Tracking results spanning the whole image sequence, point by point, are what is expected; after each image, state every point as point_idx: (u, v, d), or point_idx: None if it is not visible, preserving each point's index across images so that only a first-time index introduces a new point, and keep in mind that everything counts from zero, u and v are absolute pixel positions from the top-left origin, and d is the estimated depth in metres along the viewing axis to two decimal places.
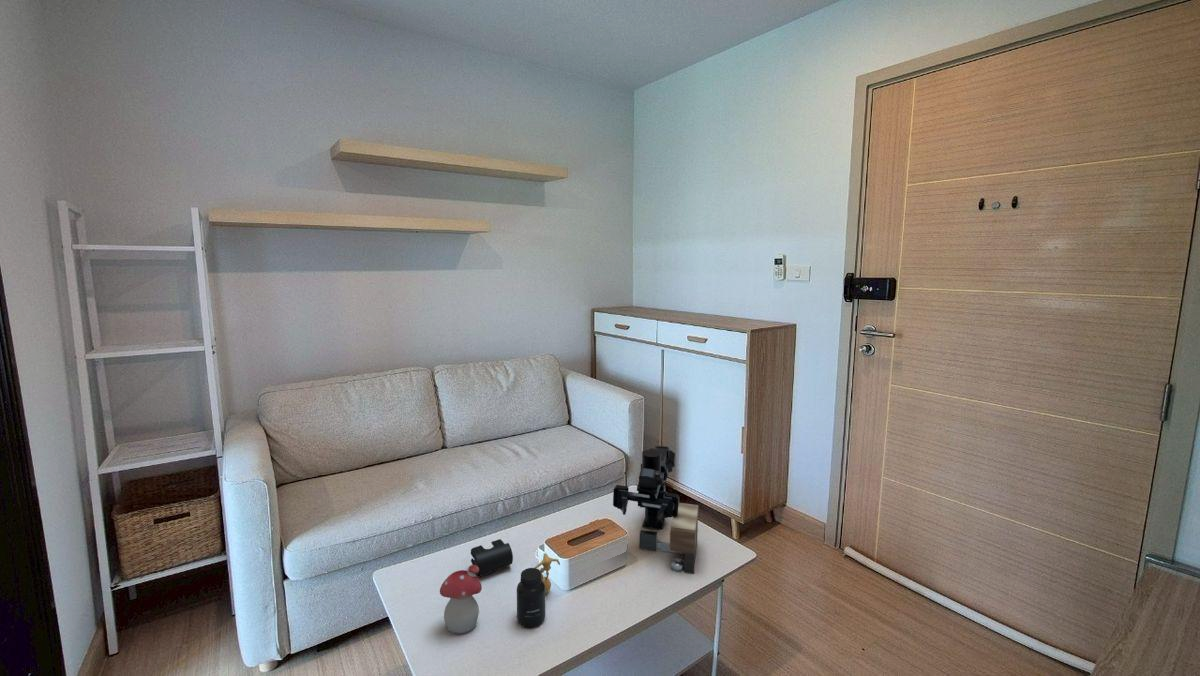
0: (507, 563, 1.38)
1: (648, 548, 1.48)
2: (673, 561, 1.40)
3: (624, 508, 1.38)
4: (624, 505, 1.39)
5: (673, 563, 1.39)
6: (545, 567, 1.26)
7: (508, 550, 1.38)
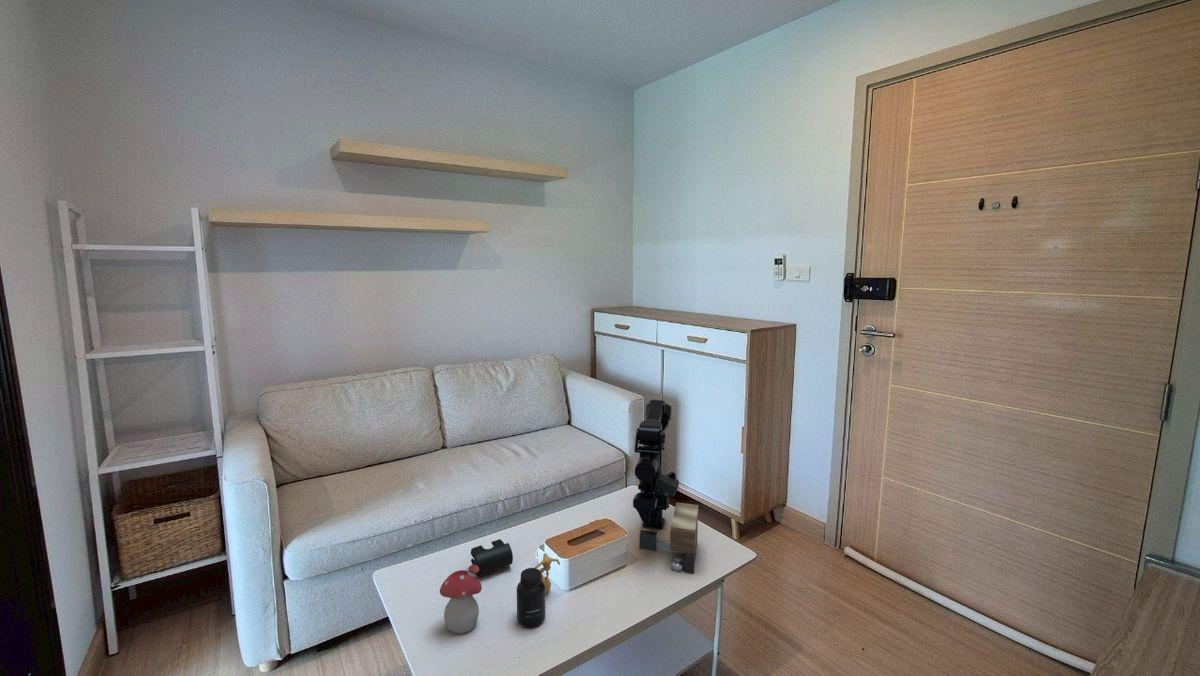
0: (507, 563, 1.38)
1: (648, 548, 1.48)
2: (673, 561, 1.40)
3: (648, 521, 1.43)
4: (649, 518, 1.42)
5: (673, 563, 1.39)
6: (545, 567, 1.26)
7: (508, 550, 1.38)
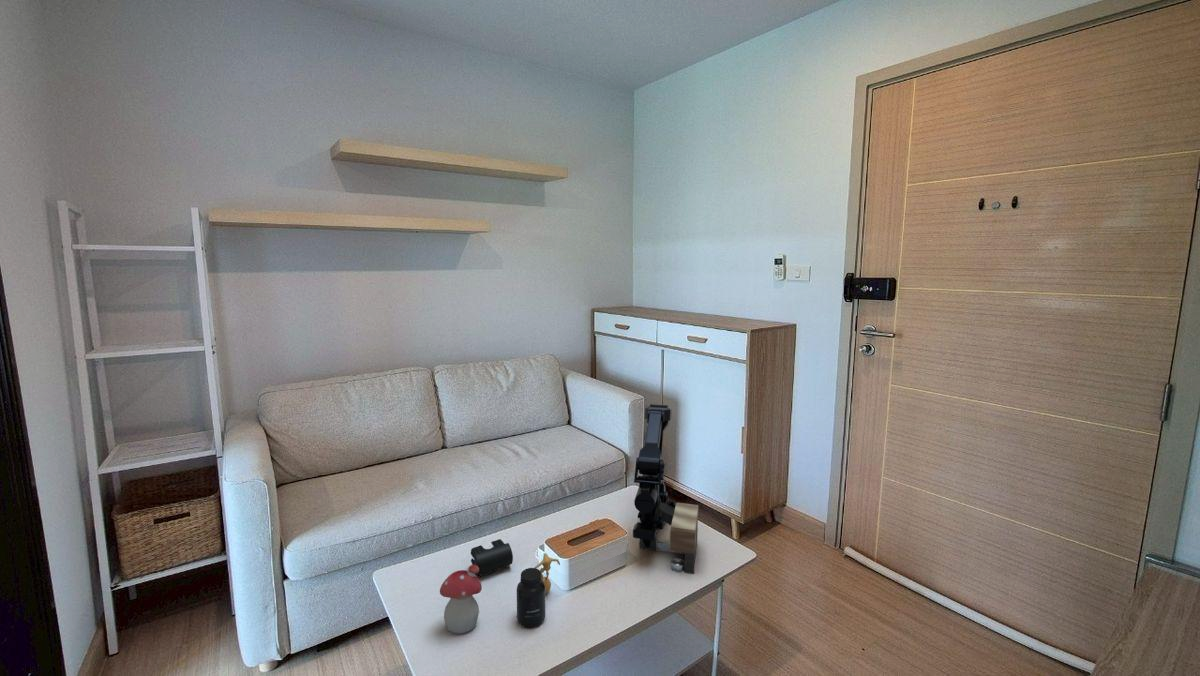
0: (507, 563, 1.38)
1: (648, 548, 1.48)
2: (673, 561, 1.40)
3: None
4: (650, 541, 1.47)
5: (673, 563, 1.39)
6: (545, 567, 1.26)
7: (508, 550, 1.38)
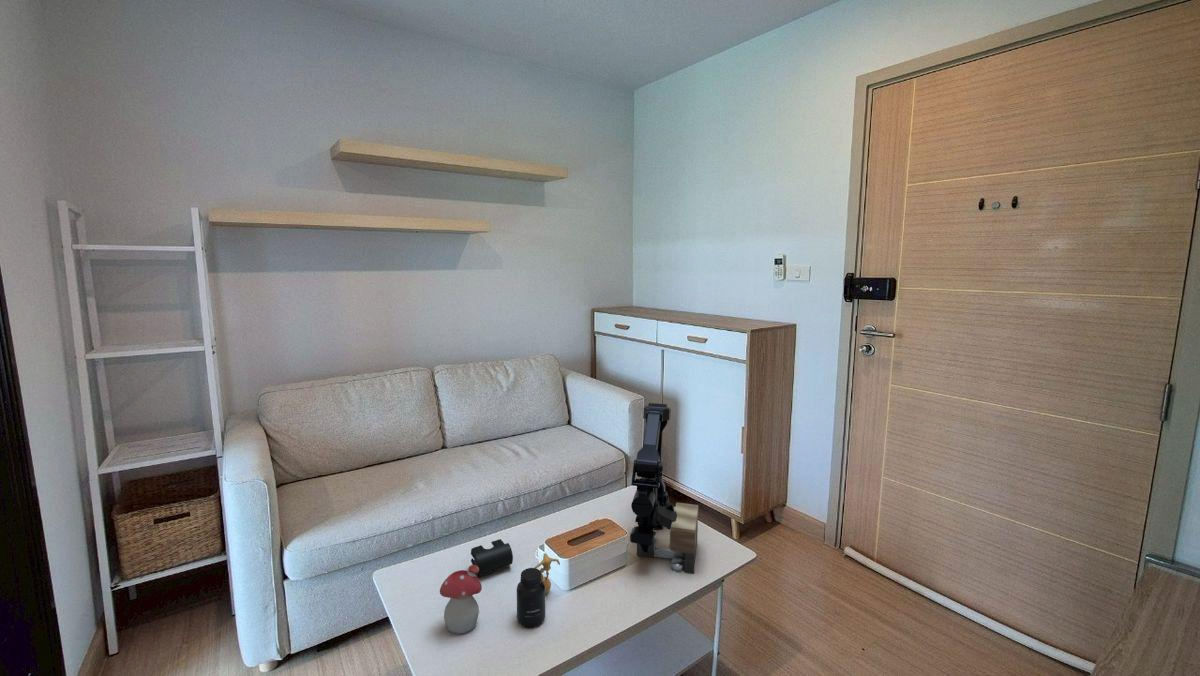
0: (507, 563, 1.38)
1: (646, 554, 1.44)
2: (673, 561, 1.40)
3: None
4: (648, 545, 1.43)
5: (673, 563, 1.39)
6: (545, 567, 1.26)
7: (508, 550, 1.38)
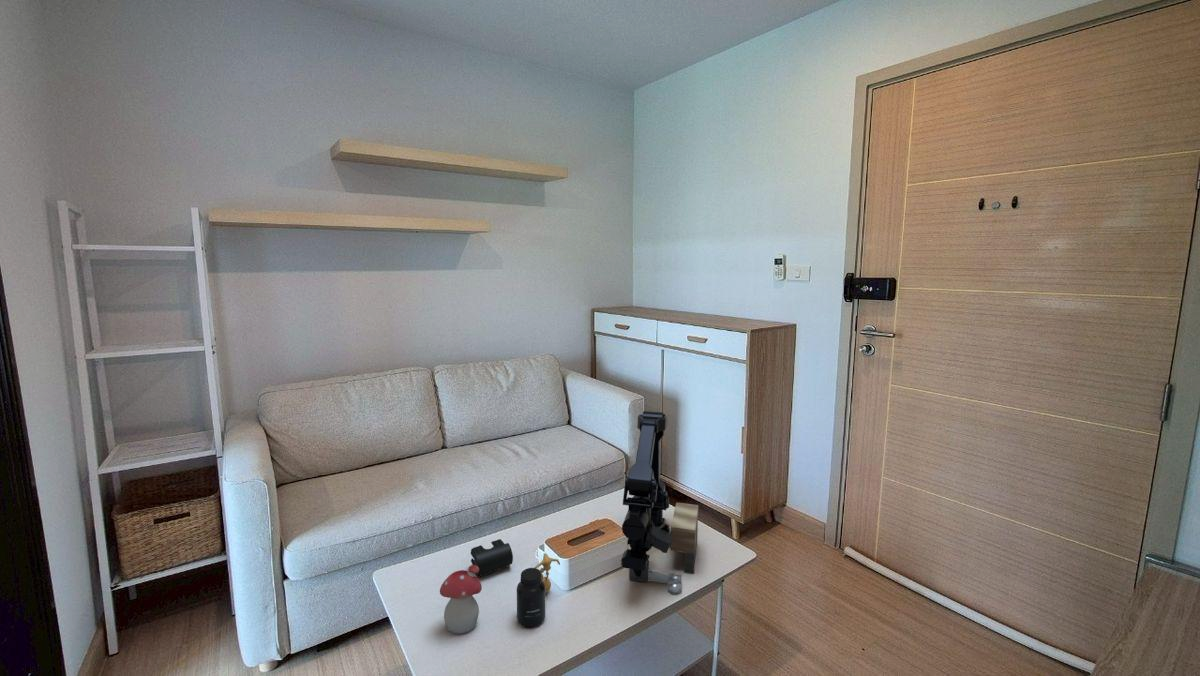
0: (507, 563, 1.38)
1: (639, 578, 1.33)
2: (670, 582, 1.30)
3: None
4: None
5: (670, 584, 1.30)
6: (545, 567, 1.26)
7: (508, 550, 1.38)
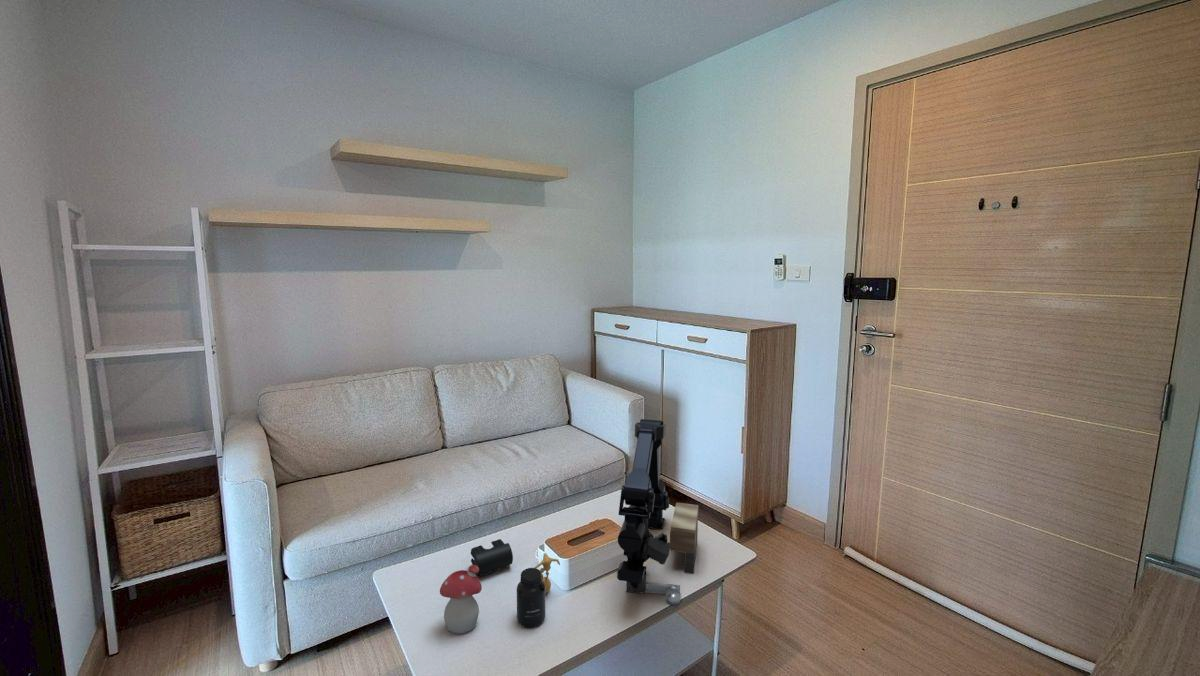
0: (507, 563, 1.38)
1: (636, 590, 1.29)
2: (668, 592, 1.27)
3: None
4: None
5: (668, 595, 1.26)
6: (545, 567, 1.26)
7: (508, 550, 1.38)
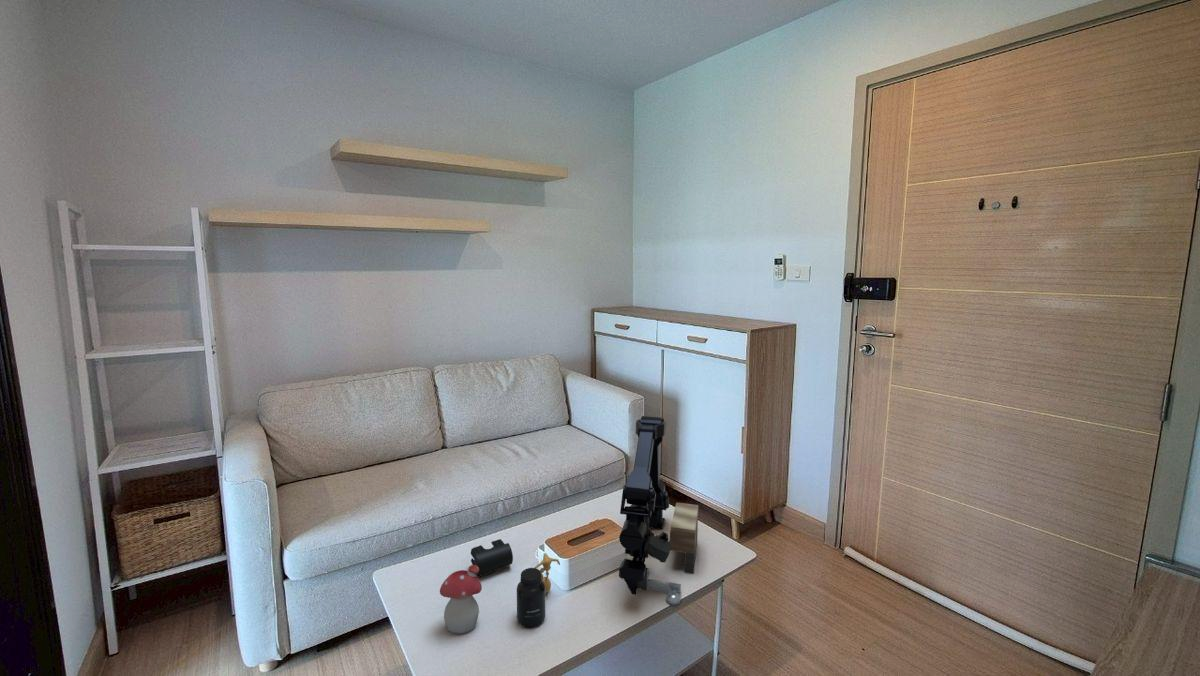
0: (507, 563, 1.38)
1: None
2: (668, 593, 1.27)
3: (636, 590, 1.27)
4: (637, 587, 1.26)
5: (668, 595, 1.26)
6: (545, 567, 1.26)
7: (508, 550, 1.38)
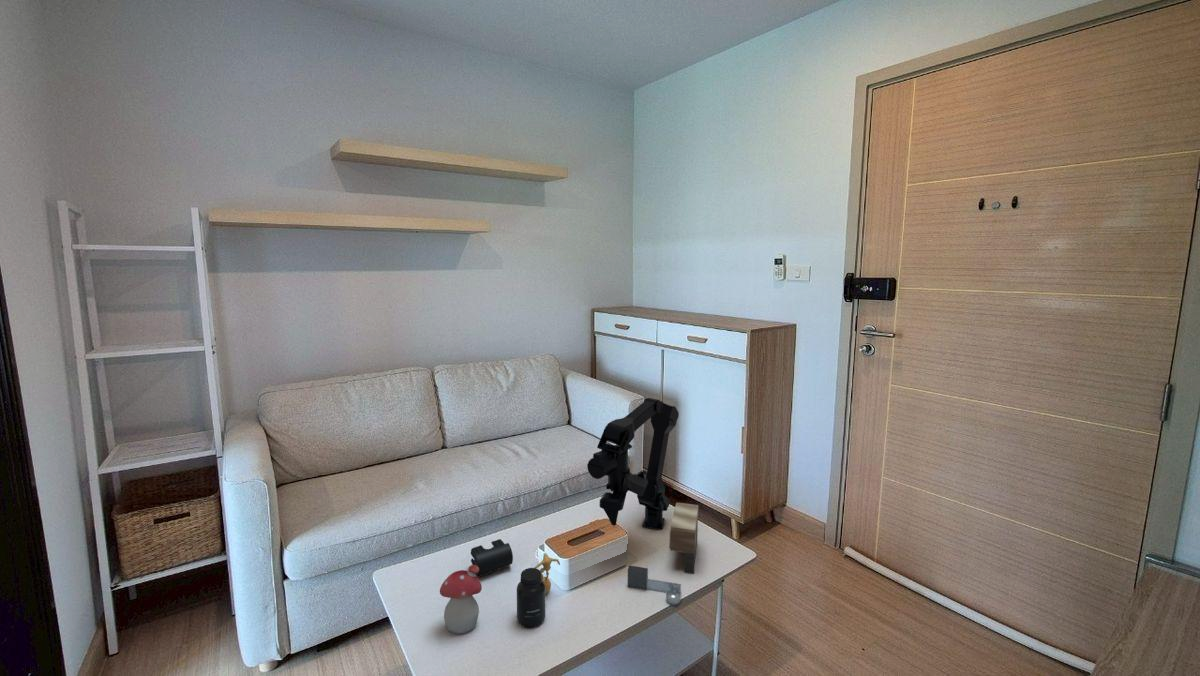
0: (507, 563, 1.38)
1: (637, 586, 1.31)
2: (668, 593, 1.27)
3: (616, 521, 1.41)
4: None
5: (668, 595, 1.26)
6: (545, 567, 1.26)
7: (508, 550, 1.38)
